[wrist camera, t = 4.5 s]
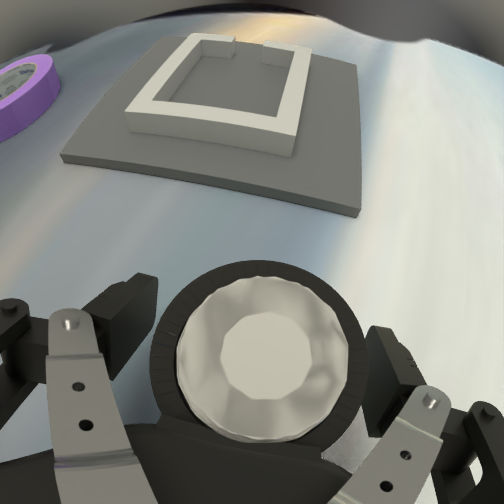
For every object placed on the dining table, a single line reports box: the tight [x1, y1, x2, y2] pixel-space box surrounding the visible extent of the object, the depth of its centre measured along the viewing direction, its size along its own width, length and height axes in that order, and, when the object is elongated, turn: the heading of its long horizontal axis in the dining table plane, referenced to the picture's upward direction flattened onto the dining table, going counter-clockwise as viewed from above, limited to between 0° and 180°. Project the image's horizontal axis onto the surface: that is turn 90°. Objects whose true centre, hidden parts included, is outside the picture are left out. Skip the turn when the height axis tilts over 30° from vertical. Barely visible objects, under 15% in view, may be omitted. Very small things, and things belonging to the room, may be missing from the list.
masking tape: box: [0, 54, 60, 142], centre depth 24 cm, size 12×12×4 cm
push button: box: [150, 260, 368, 453], centre depth 11 cm, size 7×5×10 cm
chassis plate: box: [60, 33, 362, 218], centre depth 24 cm, size 22×20×3 cm
